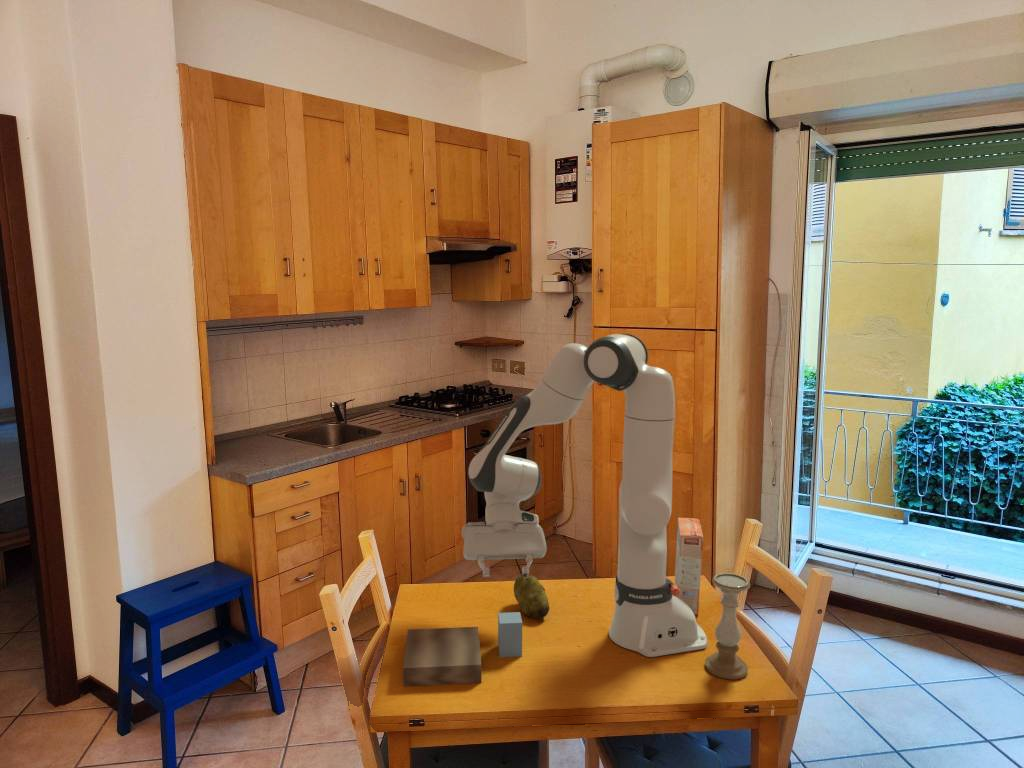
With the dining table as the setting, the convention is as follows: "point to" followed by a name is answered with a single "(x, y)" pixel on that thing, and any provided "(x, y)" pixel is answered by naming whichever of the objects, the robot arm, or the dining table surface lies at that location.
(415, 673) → the plinth
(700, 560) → the cracker box
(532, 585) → the potato
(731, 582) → the candle holder
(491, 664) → the dining table surface
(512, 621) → the block
